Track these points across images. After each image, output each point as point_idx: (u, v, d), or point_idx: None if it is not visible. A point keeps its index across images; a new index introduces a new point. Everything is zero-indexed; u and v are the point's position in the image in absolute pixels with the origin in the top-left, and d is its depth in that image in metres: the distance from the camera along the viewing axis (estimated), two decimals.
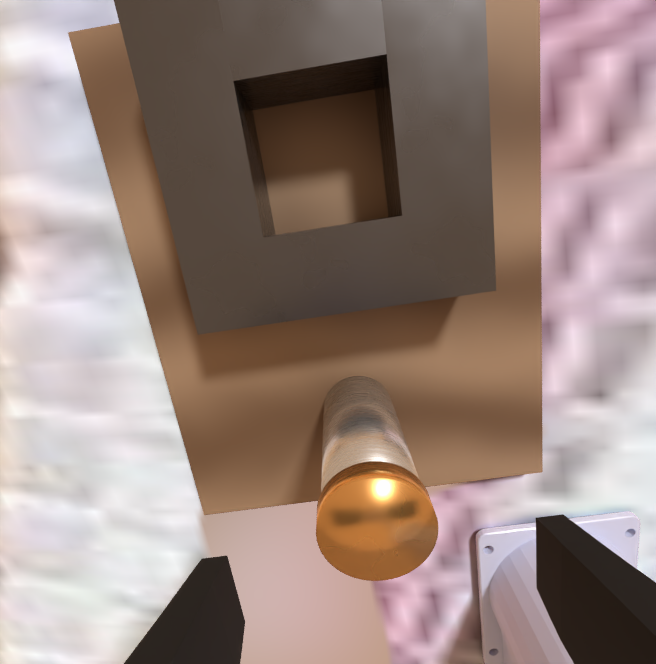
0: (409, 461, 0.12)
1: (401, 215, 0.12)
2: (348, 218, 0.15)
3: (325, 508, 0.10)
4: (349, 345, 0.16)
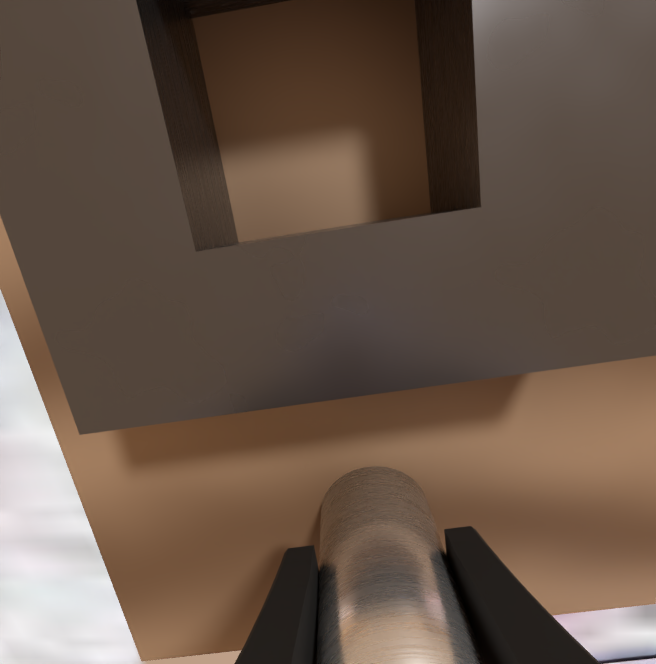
0: None
1: (479, 207, 0.06)
2: (362, 214, 0.09)
3: None
4: (363, 420, 0.10)
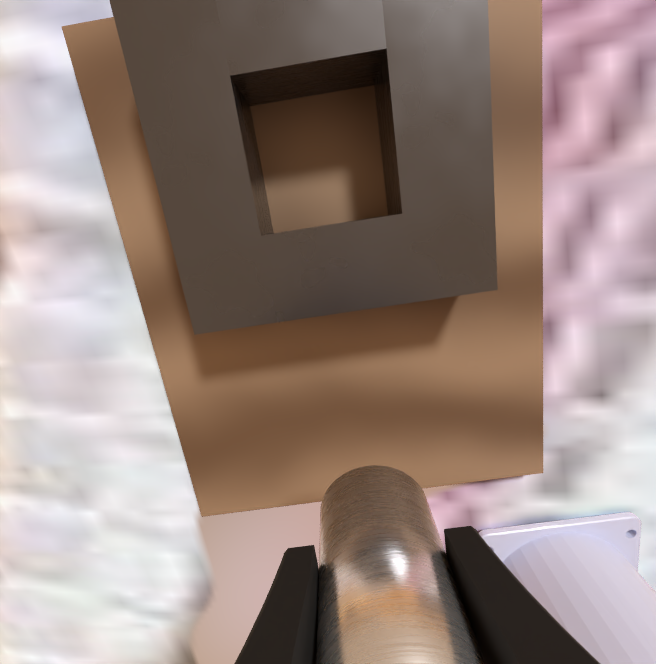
0: None
1: (401, 213, 0.12)
2: (347, 216, 0.15)
3: None
4: (348, 345, 0.16)
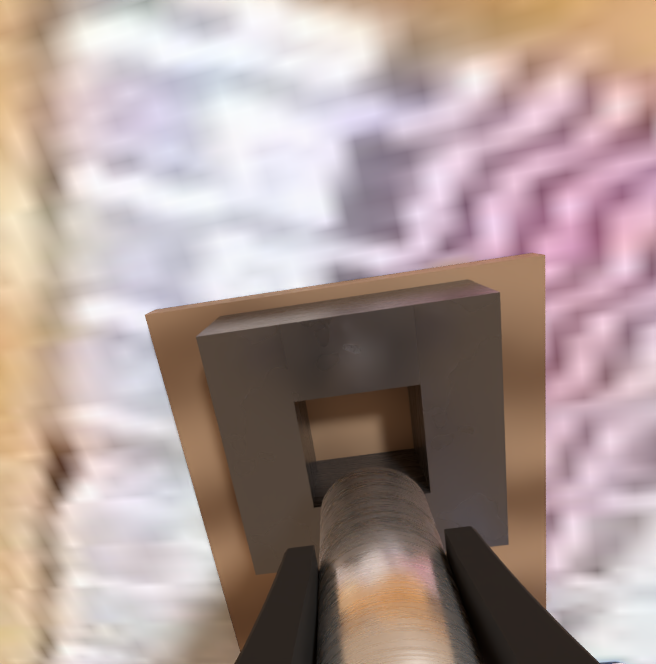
0: None
1: (430, 492, 0.15)
2: (379, 449, 0.17)
3: None
4: None
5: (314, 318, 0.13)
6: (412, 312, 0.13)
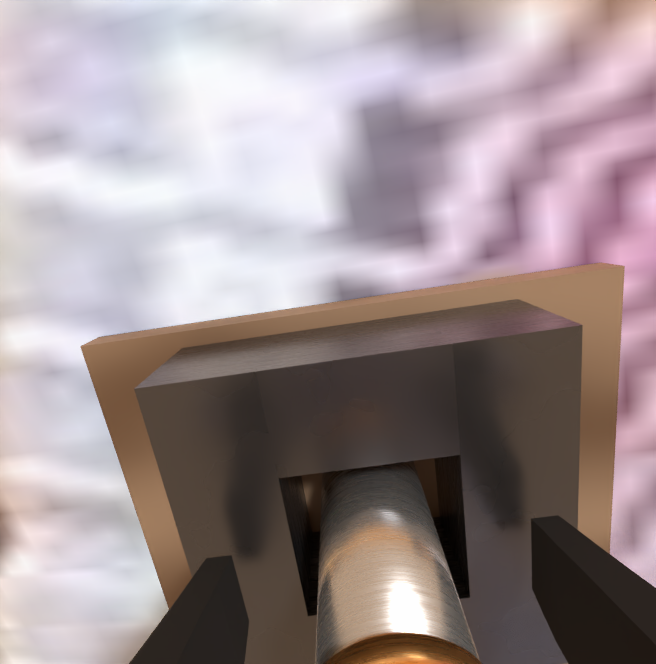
0: (456, 608, 0.07)
1: (469, 597, 0.10)
2: None
3: None
4: None
5: (307, 362, 0.09)
6: (451, 353, 0.09)
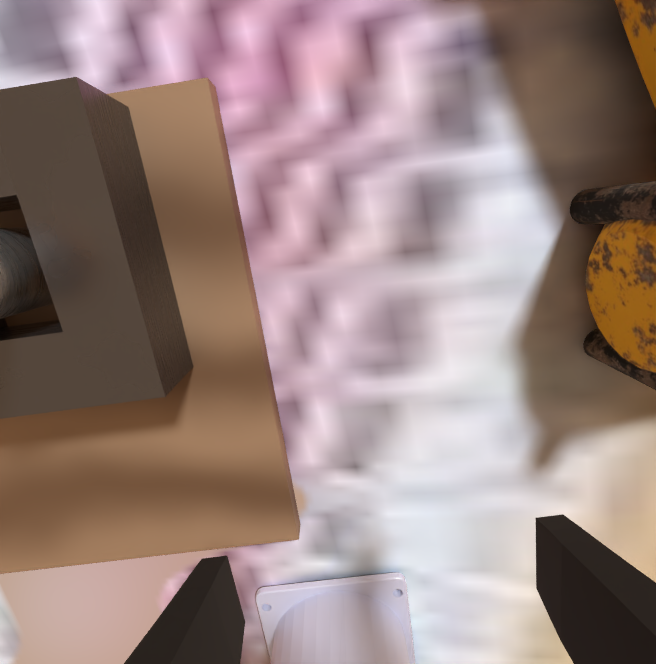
0: None
1: (63, 332, 0.13)
2: None
3: None
4: (96, 424, 0.17)
5: None
6: None
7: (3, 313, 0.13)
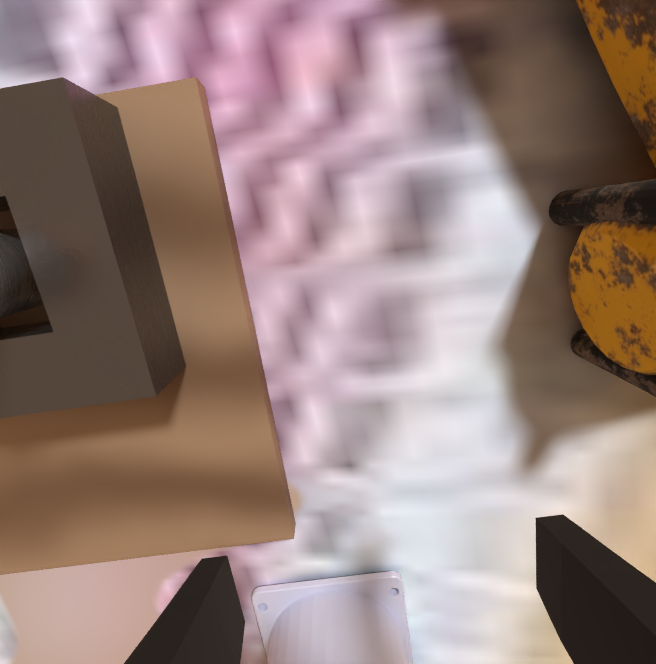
0: None
1: (53, 332, 0.13)
2: None
3: None
4: (89, 425, 0.17)
5: None
6: None
7: None
